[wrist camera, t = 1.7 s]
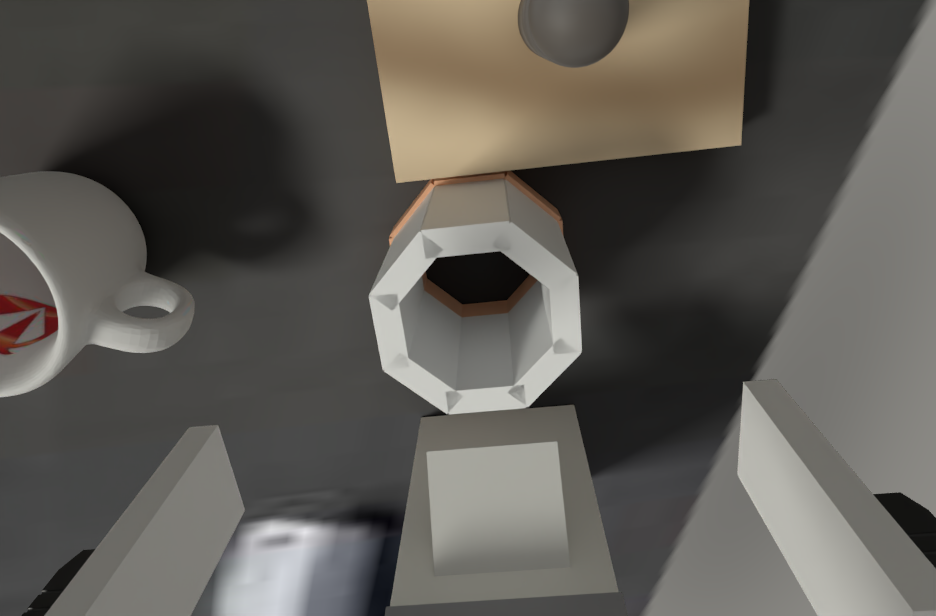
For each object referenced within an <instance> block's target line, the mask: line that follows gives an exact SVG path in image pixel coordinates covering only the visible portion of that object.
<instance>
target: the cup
mask: <svg viewBox="0 0 936 616" xmlns="http://www.w3.org/2000/svg"><path fill="white" fill-rule="evenodd" d="M146 261H147V249H146V243H145V238H144V234H143V231H142V229H141V226H140V224H139V223H138V221H137V219H136V217H135V215H134V214H133V213H132V211H131V210H130V209H129V207H128V206H127V205H126V204H125V203H124V202H123V201H122V200H121V199H120V198H119V197H118V196H117V195H116V194H115V193H113V192H112V191H111V190H109V189H108V188H106V187H105V186H103V185H101V184H99V183H97V182H95V181H93V180H91V179H89V178H86V177H83V176H80V175H77V174H72V173H66V172H55V171H43V172H32V173H24V174H18V175H11V176H5V177H0V397H7V396H13V395H19V394H22V393H26V392H29V391H31V390H34V389H36V388H38V387H40V386H42V385H44V384H45V383H47V382H48V381H50V380H51V379H52V378H54V377H55V376H56V375H57V374H58V373H60V371H61V370H62V369H63V368H64V367H65V366H66V365H67V364H68V363H69V362H70V361H71V360H72V359H73V358H74V357H75V356H76V355H77V354H78V353H79V352H80V351H81V349H82V348H83V347H84V346H85V345H87V344H96V345H100V346H104V347H108V348H112V349H117V350H122V351H127V352H135V353H148V352H156V351H161V350H163V349H166V348H168V347H170V346H172V345H174V344H175V343H176V342H178V341H179V340H180V339H181V338H182V337H183V336H184V335H185V333H186V332H187V331H188V329H189V328H190V326H191V322H192V319H193V316H194V310H195V305H194V300H193V297H192V295H191V294H190V293H189V291H187V290H186V289H185V288H183V287H182V286H180V285H178V284H176V283H174V282H172V281H169V280H166V279H163V278H160V277H157V276H154V275H151V274H149V273H146V272H145V267H146ZM135 306H155V307H159V308H162V309H165V310H167V311H169V312H170V314H168V315H166V316H164V317H161V318H155V319H144V318H137V317H133V316H130V315H127V314H125V313H123V311H124V310H127V309H129V308H132V307H135Z"/></svg>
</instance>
